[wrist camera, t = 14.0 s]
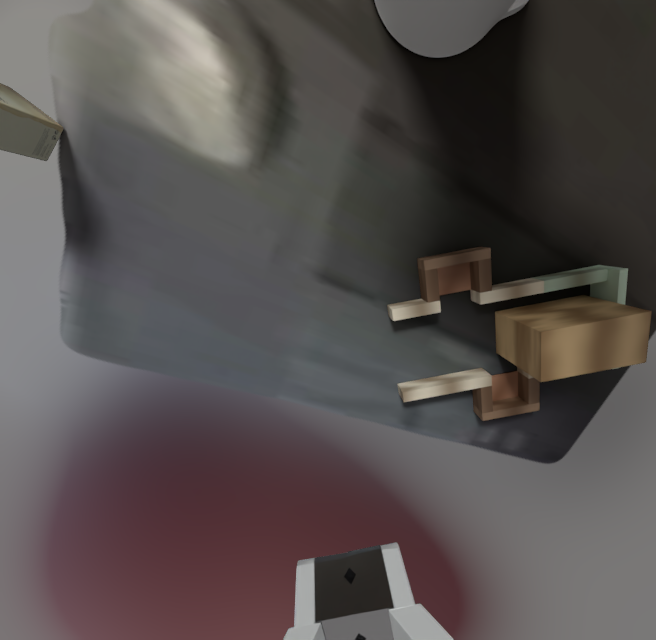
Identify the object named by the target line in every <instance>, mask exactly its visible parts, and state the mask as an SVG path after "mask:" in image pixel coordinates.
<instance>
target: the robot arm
mask: <svg viewBox="0 0 656 640" xmlns="http://www.w3.org/2000/svg"><path fill="white" fill-rule="evenodd" d="M374 1H375V5H376V8H377V10H378V13H379V15H380V18H381V19H382V21H383V23H384V25H385V27H386V28H387V30H388V31H389V32H390V34H391V35H392V36H393V37H394V38H395V39H396V40H397V41H398V42H399V43H400V44H401V45H403V46H404V47H405V48H407V49H408V50H410V51H412V52H414V53H416V54H419V55H422V56H426V57H433V58H441V57H449V56H453V55H456V54H459V53H461V52H463V51H465V50H467V49H469V48H470V47H472V46H473V45H475V44H476V43H477V42H478V41H480V40H481V39H482V38H483V37H484V36H485V35H486V34H487V33H488V32H489V30H490V29H491V28H492V27H493V26H494V25H495V24H496V23H497V22H498V21H500V20H501V19H504V18H506V17H508V16H510V15H513V14H514V13H516V12H518V11H519V10H521V9H522V8H523V7H524V6H525V5H526V3H527V2H528V1H529V0H374ZM283 640H454V639H453V638H452V637H451V636H450V635H449V634H448V633H447V632H446V630H445V629H444V628H443V627H442V626H441V625H440V624H439V623H438V622H437V621H436V620H435V618H434V617H433V616H432V615H431V614H430V613H429V612H428V611H427V610H426V609H425V608H424V607H423V606H422V605H421V604H415V602H414V598H413V594H412V591H411V587H410V584H409V580H408V577H407V573H406V570H405V566H404V563H403V559H402V555H401V552H400V549H399V545H398V544H397V542H396V543H391V544H386V545H381V547H380V545H378V546H374V547H369V548H364V549H360V550H354V551H349V552H348V553H343V554H336V555H330V556H324V557H317V558H311V559H306V560H300V561H298V564H297V570H296V596H295V619H294V627H293V628H289V629H288V631H287V633H286V635H285V637H284V639H283Z"/></svg>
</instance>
